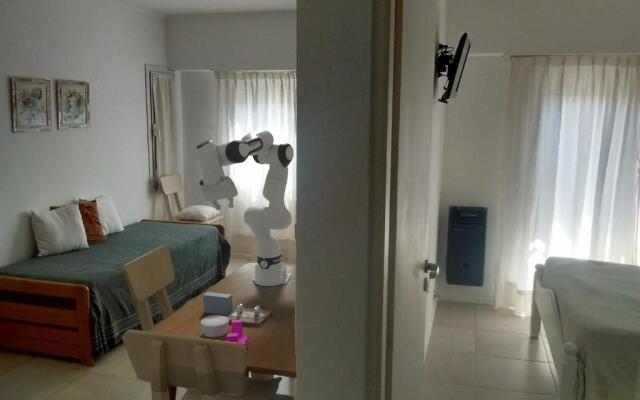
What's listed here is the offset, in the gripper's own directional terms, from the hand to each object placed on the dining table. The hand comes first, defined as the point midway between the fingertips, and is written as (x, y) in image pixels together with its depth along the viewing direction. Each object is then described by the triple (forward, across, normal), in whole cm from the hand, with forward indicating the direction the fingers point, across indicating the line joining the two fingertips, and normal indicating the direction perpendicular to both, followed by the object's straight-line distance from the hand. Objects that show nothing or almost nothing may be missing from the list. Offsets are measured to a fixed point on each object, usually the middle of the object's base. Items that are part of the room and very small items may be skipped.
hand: (225, 208), depth 230 cm
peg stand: (+46, -9, +13) cm, 48 cm away
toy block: (+45, -26, +33) cm, 62 cm away
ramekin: (+43, -10, +31) cm, 53 cm away
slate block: (+42, +7, +16) cm, 45 cm away
